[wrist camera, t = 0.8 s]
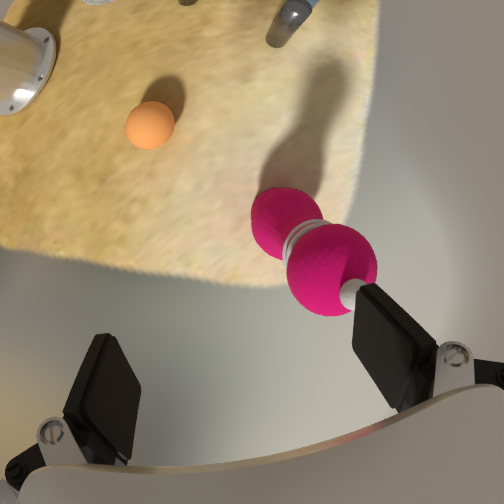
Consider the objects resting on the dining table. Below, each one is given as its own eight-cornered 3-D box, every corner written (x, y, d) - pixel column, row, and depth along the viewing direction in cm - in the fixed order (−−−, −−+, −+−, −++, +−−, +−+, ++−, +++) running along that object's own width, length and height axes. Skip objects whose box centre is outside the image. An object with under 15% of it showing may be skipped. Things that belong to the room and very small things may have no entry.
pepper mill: (278, 169, 31) (377, 206, 12) (318, 213, 33) (429, 291, 15) (233, 215, 32) (267, 313, 13) (276, 255, 34) (345, 371, 16)
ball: (125, 137, 27) (110, 136, 22) (147, 98, 26) (136, 89, 21) (162, 156, 28) (154, 158, 24) (185, 116, 27) (180, 110, 22)
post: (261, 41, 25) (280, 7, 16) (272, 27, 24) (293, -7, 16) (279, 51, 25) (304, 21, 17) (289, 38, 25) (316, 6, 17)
